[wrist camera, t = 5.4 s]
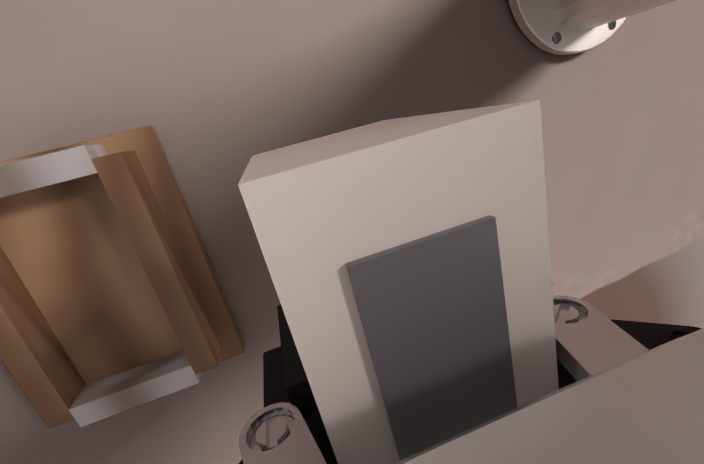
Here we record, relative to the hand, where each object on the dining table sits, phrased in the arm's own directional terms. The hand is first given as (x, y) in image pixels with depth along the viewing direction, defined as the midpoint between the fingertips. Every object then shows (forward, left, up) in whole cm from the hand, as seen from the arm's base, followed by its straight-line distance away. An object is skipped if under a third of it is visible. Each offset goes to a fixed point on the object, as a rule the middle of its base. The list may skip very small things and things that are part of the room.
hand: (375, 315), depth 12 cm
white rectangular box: (0, 0, -2) cm, 2 cm away
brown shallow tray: (+15, 0, -17) cm, 23 cm away
